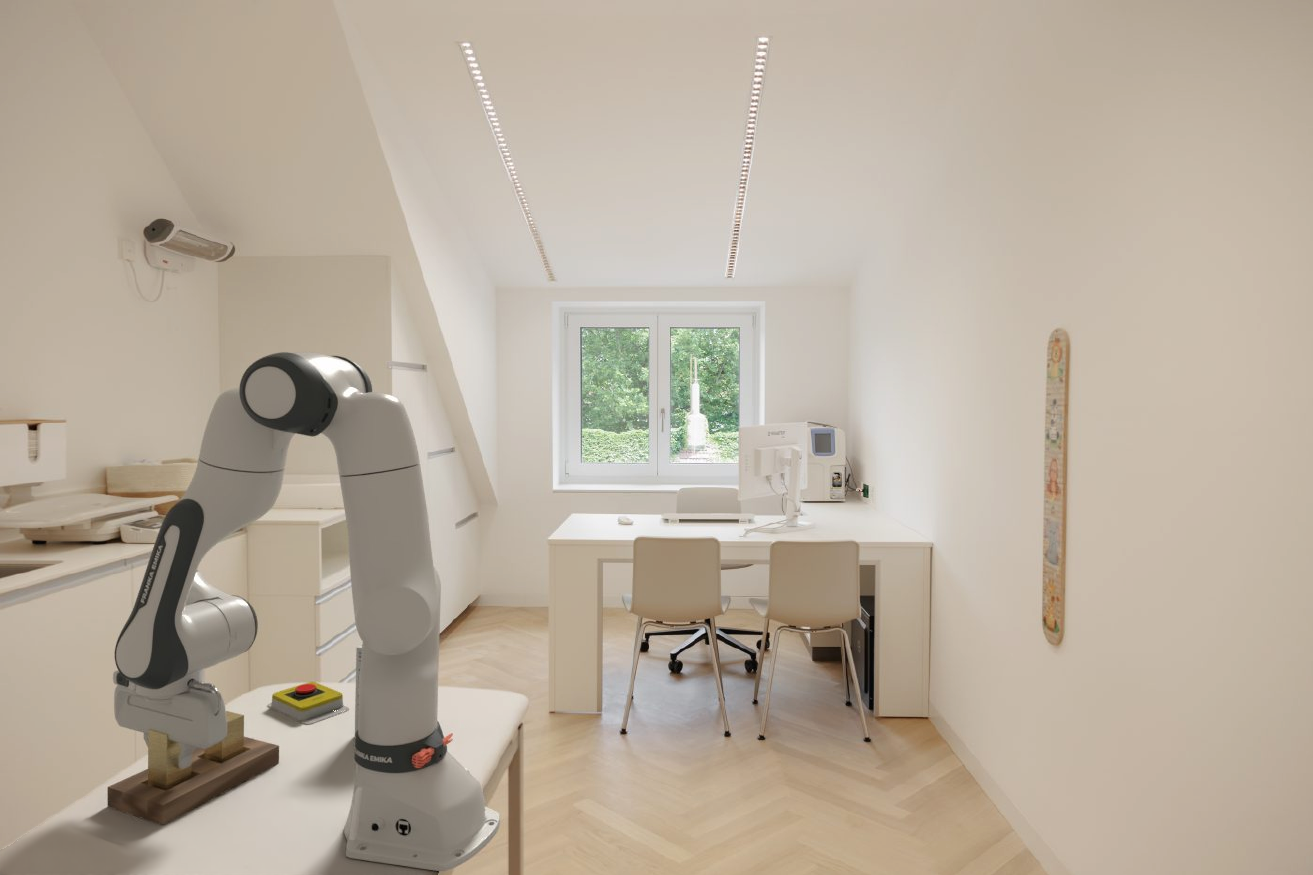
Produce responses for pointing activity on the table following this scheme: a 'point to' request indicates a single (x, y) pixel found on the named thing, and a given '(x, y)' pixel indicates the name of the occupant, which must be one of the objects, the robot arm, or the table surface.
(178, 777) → the block
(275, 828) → the table surface
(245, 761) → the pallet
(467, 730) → the table surface
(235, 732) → the seated billet
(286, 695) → the emergency button
